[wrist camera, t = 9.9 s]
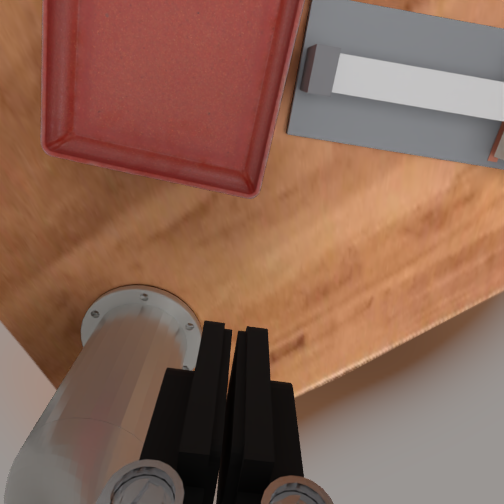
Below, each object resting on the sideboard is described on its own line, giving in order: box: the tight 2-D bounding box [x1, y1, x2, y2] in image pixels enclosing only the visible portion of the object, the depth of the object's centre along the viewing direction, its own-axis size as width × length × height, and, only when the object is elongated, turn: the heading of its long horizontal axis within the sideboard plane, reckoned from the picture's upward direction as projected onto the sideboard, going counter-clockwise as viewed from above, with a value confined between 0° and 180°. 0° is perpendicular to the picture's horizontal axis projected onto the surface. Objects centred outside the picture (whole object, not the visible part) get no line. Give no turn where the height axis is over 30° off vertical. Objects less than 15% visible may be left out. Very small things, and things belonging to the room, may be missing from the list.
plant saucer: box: [41, 0, 305, 199], centre depth 31 cm, size 18×18×3 cm
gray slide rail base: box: [286, 0, 504, 169], centre depth 30 cm, size 10×23×6 cm, turn 81°
